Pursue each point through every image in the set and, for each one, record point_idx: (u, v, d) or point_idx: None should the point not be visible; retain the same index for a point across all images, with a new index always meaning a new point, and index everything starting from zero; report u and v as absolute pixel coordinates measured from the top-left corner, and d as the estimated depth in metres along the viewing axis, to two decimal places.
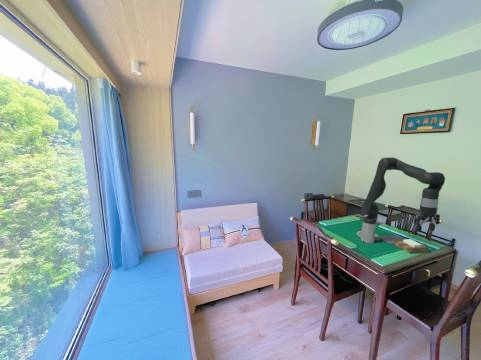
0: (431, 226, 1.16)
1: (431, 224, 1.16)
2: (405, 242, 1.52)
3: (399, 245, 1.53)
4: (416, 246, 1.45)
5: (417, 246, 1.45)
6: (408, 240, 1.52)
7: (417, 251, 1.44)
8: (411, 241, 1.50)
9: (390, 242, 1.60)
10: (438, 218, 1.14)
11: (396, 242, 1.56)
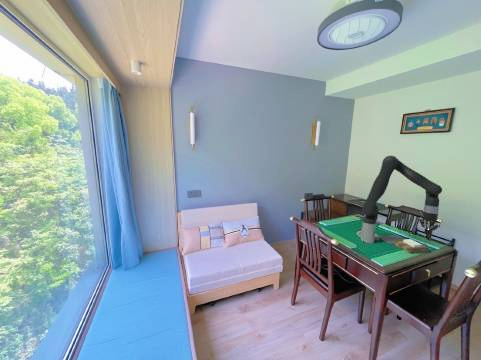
0: (427, 230, 1.38)
1: (426, 229, 1.38)
2: (405, 242, 1.52)
3: (399, 245, 1.53)
4: (416, 246, 1.45)
5: (417, 246, 1.45)
6: (408, 240, 1.52)
7: (417, 251, 1.44)
8: (411, 241, 1.50)
9: (390, 242, 1.60)
10: None
11: (396, 242, 1.56)
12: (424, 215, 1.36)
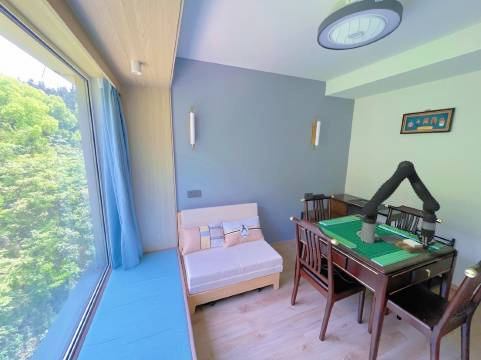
0: None
1: None
2: (405, 242, 1.52)
3: (399, 245, 1.53)
4: (416, 246, 1.45)
5: (417, 246, 1.45)
6: (408, 240, 1.52)
7: (417, 251, 1.44)
8: (411, 241, 1.50)
9: (390, 242, 1.60)
10: None
11: (396, 242, 1.56)
12: (422, 231, 1.38)
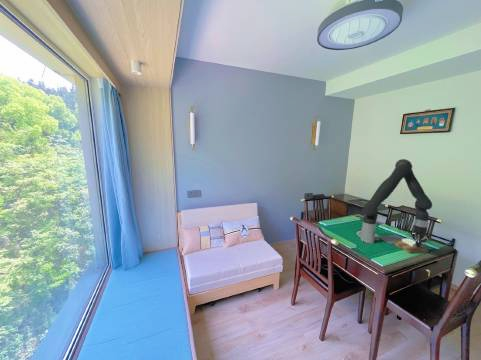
0: None
1: None
2: (404, 241, 1.53)
3: (399, 245, 1.53)
4: (414, 245, 1.46)
5: (415, 245, 1.47)
6: (407, 239, 1.53)
7: (417, 251, 1.44)
8: (410, 240, 1.51)
9: (390, 242, 1.60)
10: None
11: (396, 242, 1.56)
12: (414, 228, 1.43)
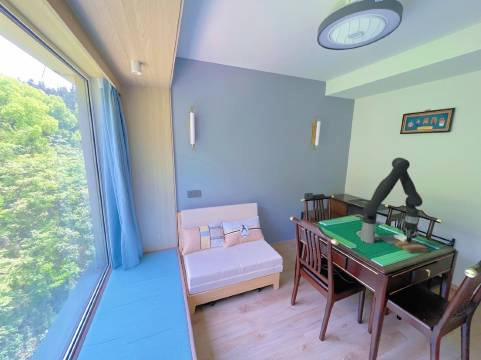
0: None
1: None
2: (396, 237, 1.61)
3: (399, 245, 1.53)
4: (406, 240, 1.54)
5: None
6: (398, 235, 1.61)
7: (417, 251, 1.44)
8: (401, 236, 1.59)
9: (390, 242, 1.60)
10: None
11: (396, 242, 1.56)
12: (405, 224, 1.50)
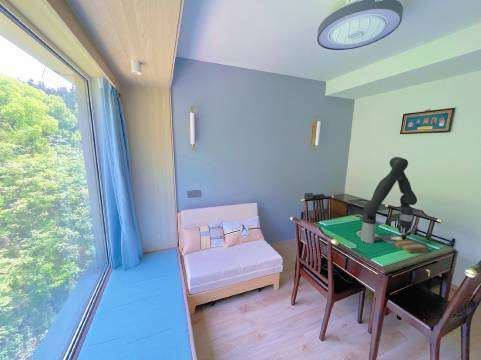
0: None
1: None
2: (392, 239, 1.64)
3: (399, 245, 1.53)
4: (401, 238, 1.58)
5: None
6: (394, 237, 1.65)
7: (417, 251, 1.44)
8: None
9: (390, 242, 1.60)
10: None
11: (396, 242, 1.56)
12: (400, 222, 1.55)
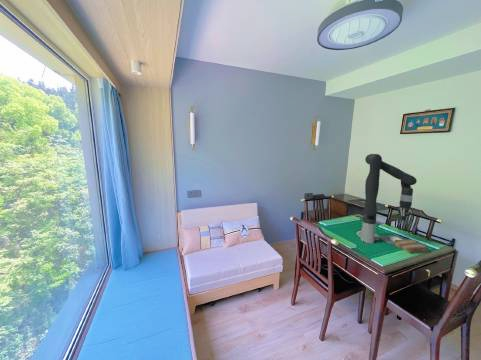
0: None
1: None
2: (391, 239, 1.65)
3: (399, 245, 1.53)
4: None
5: None
6: (394, 237, 1.65)
7: (417, 251, 1.44)
8: (396, 238, 1.63)
9: (390, 242, 1.60)
10: None
11: (396, 242, 1.56)
12: (400, 203, 1.55)
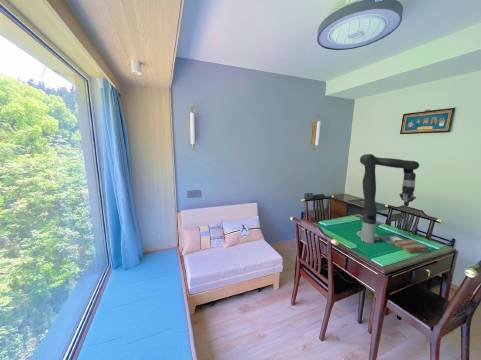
0: None
1: None
2: (391, 239, 1.65)
3: (399, 245, 1.53)
4: None
5: None
6: (394, 237, 1.65)
7: (417, 251, 1.44)
8: (396, 238, 1.63)
9: (390, 242, 1.60)
10: None
11: (396, 242, 1.56)
12: (403, 189, 1.54)
